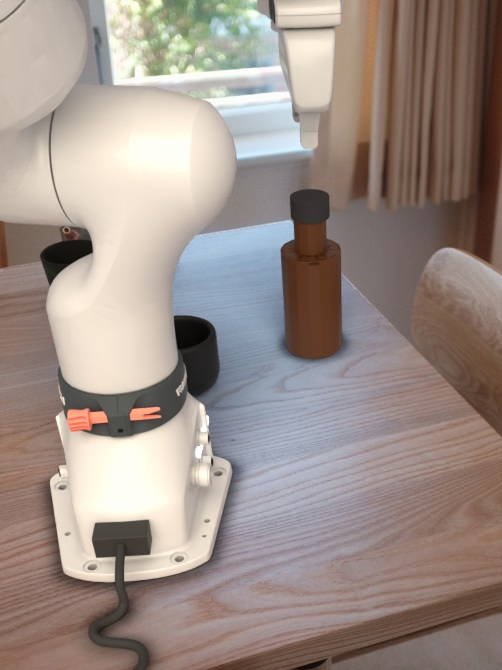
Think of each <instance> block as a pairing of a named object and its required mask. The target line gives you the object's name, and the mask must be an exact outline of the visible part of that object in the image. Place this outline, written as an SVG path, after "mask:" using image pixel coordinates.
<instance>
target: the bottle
mask: <svg viewBox="0 0 502 670" xmlns="http://www.w3.org/2000/svg"><path fill="white" fill-rule="evenodd" d="M292 221H293V239H291V240H289V241H287V242H285V243H283V245H282V246H281V247H280V249H279V250H280V268H281V284H282V286H281V287H282V304H283V319H284V320H283V321H284V339H285V347H286V350H287V351H288V352H289V353H290V354H292V355H293V356H295V357H299V358H302V359H308V360H309V359H310V360H311V359H313V360H318V359H324V358H327V357H331V356H333V355H335V354H336V353H338V352H339V351H340V350H341V348H342V344H343V343H342V342H343V311H342V310H343V308H342V307H343V305H342V303H343V302H342V301H343V299H342V298H343V297H342V249H341V245H340V244H339V243H338V242H336V241H335V240H332V239H329V238H328V237H327V220H326V221H324V222H321V223H315V224H303V223H298V222H295V221H294V220H292Z"/></svg>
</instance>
